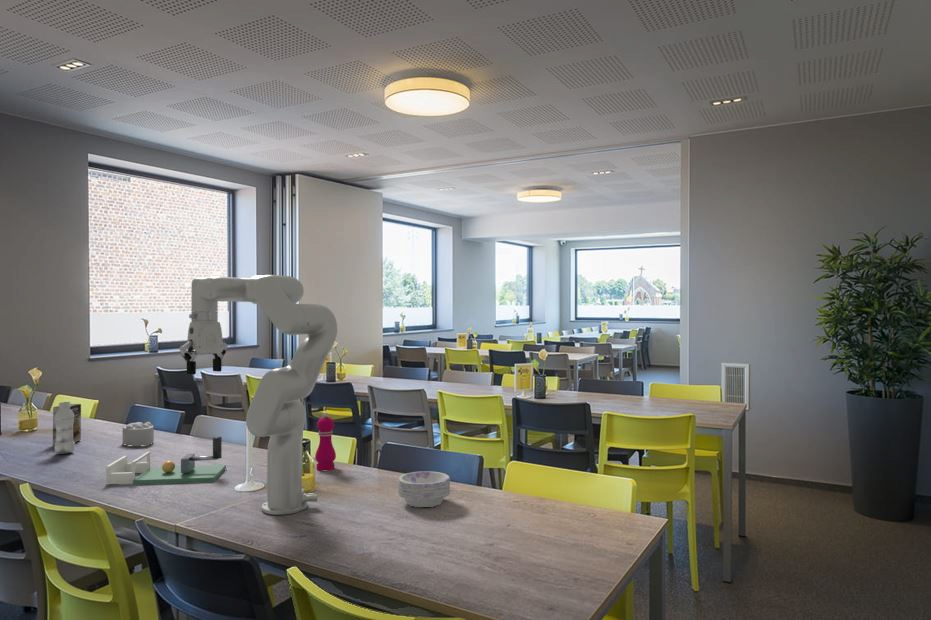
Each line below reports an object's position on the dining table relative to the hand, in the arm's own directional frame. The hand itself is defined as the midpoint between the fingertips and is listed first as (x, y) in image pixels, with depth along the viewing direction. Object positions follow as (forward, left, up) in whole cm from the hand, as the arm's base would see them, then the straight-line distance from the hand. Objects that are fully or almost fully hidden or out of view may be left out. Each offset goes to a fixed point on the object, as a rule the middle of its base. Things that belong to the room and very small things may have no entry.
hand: (204, 372), depth 188 cm
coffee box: (+76, -78, -38) cm, 116 cm away
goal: (+29, -19, -37) cm, 51 cm away
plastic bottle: (+68, -59, -38) cm, 98 cm away
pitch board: (+13, -19, -37) cm, 44 cm away
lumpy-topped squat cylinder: (+46, -74, -38) cm, 95 cm away
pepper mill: (-35, -23, -38) cm, 56 cm away
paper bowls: (-67, +20, -38) cm, 79 cm away
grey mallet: (+6, -19, -35) cm, 41 cm away
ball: (+17, -19, -34) cm, 43 cm away
